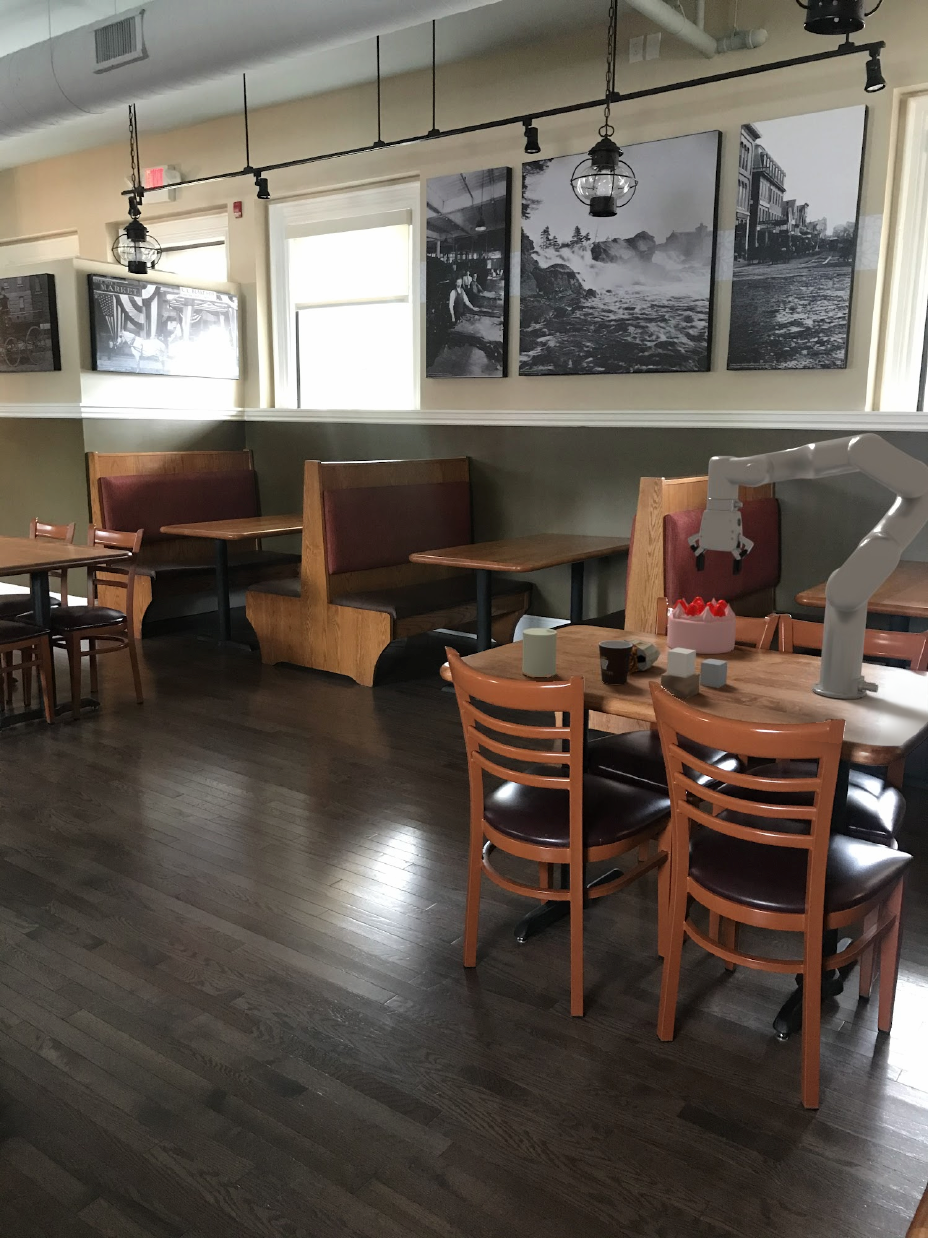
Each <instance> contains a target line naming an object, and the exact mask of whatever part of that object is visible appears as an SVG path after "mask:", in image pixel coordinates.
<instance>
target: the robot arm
mask: <svg viewBox="0 0 928 1238" xmlns="http://www.w3.org/2000/svg"><path fill="white" fill-rule="evenodd" d="M855 472H861V473H863V474H864V475H865V476H867V477H868V478H870V479H871V480H874V481H875V482H876V483H878V484H881V485H882V486H883V487H885V488H887V489H888V490H889V491H891V492H893V493H895V494H896V498H895V500H894V502H893V504H892V505H891V507H890V508H889V509H888V511H886V513H885V515H884V516H883V517H882V518H881V519H880V520H879V522H877V524H876V525H875V526H874V527H873V528H872V529H871V531H869V533H867V534H866V535H865V536H864V537H863V538H862V539H861V540H860V542H859V543H858V545H857V547H856V549H855V550H854V551H853V552H852V553H851V555H850V556H848V558H847V559H846V560H845V561H844V562H843V564H842V565H841V566H840V567H839V568H837V569H835V570H834V571H832V573H831V574H830V576H829V577H828V580H827V582H826V585H825V590H824V593H825V598H826V600H825V611H824V620H823V634H822V643H821V644H822V647H821V658H820V660H821V661H820V670H819V681H818V682H815V683H814V684H813V685H812V689H811V690H812V691H813V693H816V694H817V695H820V696H824V697H828V698H835V699H845V700H853V699H854V700H856V699H861V698H860V697H862V698H865V697H866V696H867V692H871V693H878V691H879V684H876V682H870V681H866V680H865V675H862V670H863V669H862V668H863V661H864V660H863V658H864V647H865V637H866V636H865V635H866V626H867V625H866V624H867V616H868V615H867V614H868V603H869V599H870V598H871V597H872V596H873V595H874V593H876V591H877V590H878V589H879V588H880V587H881V585H883V583H884V582H886V580H887V579H888V578H889V577H890V575H891V574H892V573H893V572H894V571H895V570H896V568H897V566H898V564H899V563H900V560H901V555H902V554H903V551H905V550H906V548H907V547H909V546H910V544H911V542H912V541H914V539H915V538H916V536H917V535H918V534H919V533H920V531H922V529H923V528H924V526H925V525H926V524H927V522H928V465H927V464H926V463H924V462H923V461H921V460H919V459H916V458H915V457H913V456H911V455H909V454H907V452H904V451H902V450H901V449H899V448H898V447H896V446H894V445H893V444H891V443H889V442H888V441H887V440H886V439H883V437H881V436H880V435H878V434H876V433H872V432H868V433H861V434H857V435H851V436H844V437H840V438H833V439H829V440H823V441H817V442H812V443H808V444H805V445H802V446H799V447H795V448H790V449H785V450H780V451H774V452H769V453H763V454H756V455H752V456H746V457H745V456H744V457H737V456H733V455H716V456H712V457H710V459H709V462H708V474H707V475H708V476H707V493H706V495H707V496H706V509H705V510H704V511H703V514H702V517H701V523H700V526H699V532H698V533H695V534H693V535H691V536H689V537H687V541H688V545H689V546H690V547H689V548H690V549H691V551H692V552H693V554H694V555H695V568H696V571H697V572H702V571H705V566H706V565H705V563H706V555H705V552H706V551H707V550H709V551H719V552H731V554H732V555H733V557H734V558H735V559H733V561H732V575H733V576H738V575H740V574H741V572H742V570H743V560H744V558H745V557H746V556H747V555H748V554H749V553H750V551H751V550H752V548H753V547H754V544H755V543H754V542H753V541H752V540H751V539H749V538H746V536H744V535H743V523H742V522H743V521H742V520H743V519H742V514H741V511H738V510H739V508H743V502H741V501H739V486H744V487H750V488H751V487H752V488H756V487H760V486H762V485H767V484H771V483H777V482H784V481H788V480H789V481H790V480H795V479H796V480H797V479H809V480H810V479H811V480H812V479H820V478H826V477H830V476H831V477H832V476H838V475H843V474H849V473H855ZM697 540H698V545H697V544H696V541H697ZM743 545H745V547H744V549H743V550H741V549H742V548H743Z"/></svg>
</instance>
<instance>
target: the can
mask: <svg viewBox="0 0 928 1238" xmlns="http://www.w3.org/2000/svg"><path fill="white" fill-rule="evenodd" d="M557 631H558V630H555V629H551V628H548V627H547V628H546V627H531V628H526V629H523V631H522V670H521V672H522V671H523V672H524V673H527V674H529V675H534V676H547V675H555V674H556V675H557V666H556V665H557V641H558V640H557V635H558V632H557ZM556 675H555V676H556Z"/></svg>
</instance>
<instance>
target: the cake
mask: <svg viewBox="0 0 928 1238" xmlns="http://www.w3.org/2000/svg"><path fill="white" fill-rule="evenodd" d="M672 608H673V609H672V610H671V613H670V614H669V615H668V619H667V620H668V621H667V637H666V638H667V641H666V642H667V643H666V645H667V646H668V647H669V648H670V649H671V650H672V649H675V648H677V647H678V648H684V649H690V650H696V655H697V654H699V655H717V654H718V655H719V654H724V653H725V654H727V653H730V652H732V651H733V650H734V648H735V643H736V626H737V625H736V624H737V619H736V614H735V612H734V611H733V610H732V608H731V606H730V603H727V602H726V600H724V599H719V600H718V601H717V600H716V599H715V598H714V597H713V598H712V600H711V601H709V602H707V603H706V604H705V602H704V600H703V598H702V597H701V596H697V597H695V598H694V600H693V601H692V603H689V604H688V603H687V601H686V599H685V597H682V599H678V600H677V601H676V602H675V604H674V605H673V607H672ZM731 650H732V651H731Z"/></svg>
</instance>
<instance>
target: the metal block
mask: <svg viewBox="0 0 928 1238" xmlns="http://www.w3.org/2000/svg"><path fill="white" fill-rule="evenodd" d="M661 685H662V686H663V688H665V689H667V691H669V692H670V693H671V694H674V695H675V696H674V697H676V696H677V697H676V698H682V699H689V698H690V697H692V696H694V695H697V694H699V693H700V672H695V674H693V675H691V676H689V677H686V678H683V677H678V676H672V675H667V671H666V672H664V673H662V674H660V686H661Z"/></svg>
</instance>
